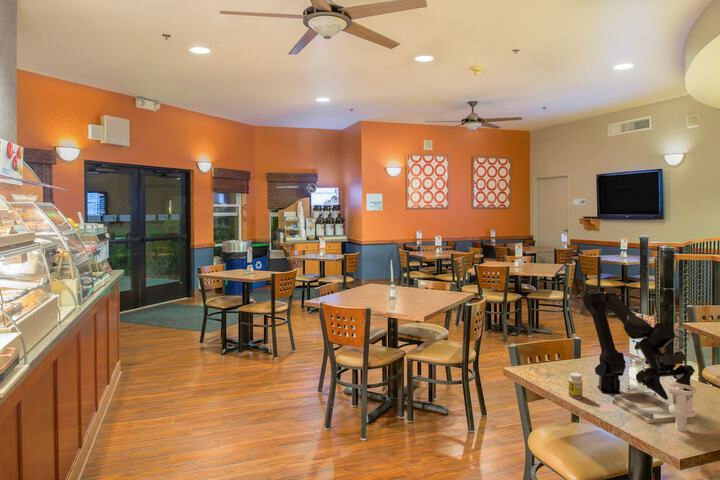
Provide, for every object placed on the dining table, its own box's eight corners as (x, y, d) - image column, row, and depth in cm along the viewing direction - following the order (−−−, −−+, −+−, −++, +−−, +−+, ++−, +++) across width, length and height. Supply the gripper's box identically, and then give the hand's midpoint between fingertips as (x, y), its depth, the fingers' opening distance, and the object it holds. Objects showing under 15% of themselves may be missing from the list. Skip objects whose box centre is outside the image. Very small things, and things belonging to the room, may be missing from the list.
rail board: (612, 403, 180) (612, 395, 179) (645, 399, 182) (645, 392, 182) (648, 423, 163) (648, 414, 163) (684, 419, 166) (684, 410, 165)
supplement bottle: (566, 393, 189) (566, 372, 188) (577, 393, 189) (578, 372, 189) (572, 398, 184) (573, 376, 183) (584, 398, 184) (585, 376, 184)
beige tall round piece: (667, 422, 163) (668, 378, 162) (692, 427, 160) (694, 382, 159) (669, 431, 157) (670, 385, 156) (695, 436, 154) (697, 389, 153)
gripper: (643, 344, 161) (669, 389, 151) (691, 341, 165) (720, 384, 155) (625, 361, 170) (648, 404, 159) (671, 357, 173) (697, 399, 163)
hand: (679, 398), depth 159 cm, fingers open, 9 cm apart
